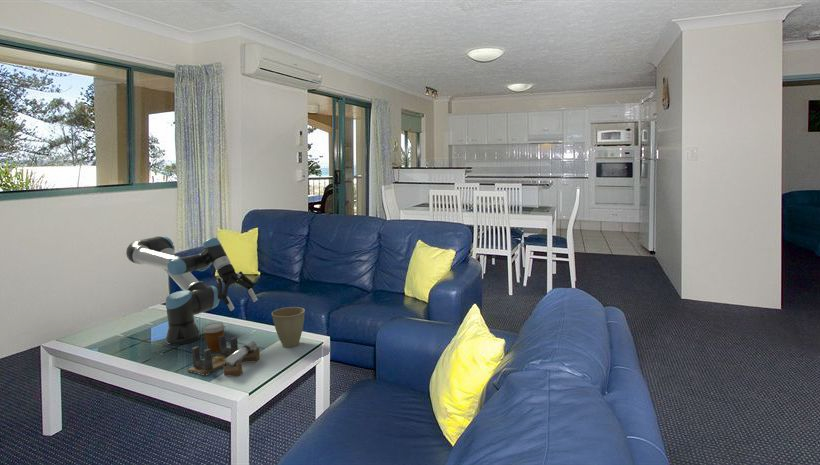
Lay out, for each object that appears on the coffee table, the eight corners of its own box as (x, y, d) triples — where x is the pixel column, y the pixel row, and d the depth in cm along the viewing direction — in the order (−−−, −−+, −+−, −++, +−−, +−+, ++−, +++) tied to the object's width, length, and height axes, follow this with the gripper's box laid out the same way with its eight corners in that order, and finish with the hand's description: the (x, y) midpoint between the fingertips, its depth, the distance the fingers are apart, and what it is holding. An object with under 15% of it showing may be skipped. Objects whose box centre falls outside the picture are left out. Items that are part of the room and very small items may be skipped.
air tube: (234, 367, 201) (233, 357, 200) (225, 366, 202) (223, 356, 201) (257, 350, 218) (256, 340, 217) (248, 349, 219) (247, 340, 218)
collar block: (188, 371, 208) (185, 350, 206) (227, 353, 226) (225, 333, 225) (205, 375, 203) (202, 353, 202) (243, 356, 222) (241, 336, 220)
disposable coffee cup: (206, 356, 224) (203, 330, 222) (203, 349, 232) (201, 324, 230) (228, 351, 228) (225, 326, 226) (225, 345, 237) (222, 320, 235)
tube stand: (238, 376, 201) (237, 363, 201) (224, 375, 203) (222, 363, 202) (260, 359, 218) (259, 347, 217) (246, 358, 219) (245, 347, 218)
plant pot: (305, 349, 227) (302, 315, 225) (271, 351, 226) (268, 317, 224) (308, 337, 242) (306, 305, 239) (277, 339, 241) (274, 307, 238)
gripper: (204, 270, 231) (226, 310, 228) (248, 257, 251) (268, 294, 248) (197, 277, 235) (218, 316, 232) (241, 264, 256) (261, 300, 253)
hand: (244, 305), depth 240 cm, fingers open, 13 cm apart
